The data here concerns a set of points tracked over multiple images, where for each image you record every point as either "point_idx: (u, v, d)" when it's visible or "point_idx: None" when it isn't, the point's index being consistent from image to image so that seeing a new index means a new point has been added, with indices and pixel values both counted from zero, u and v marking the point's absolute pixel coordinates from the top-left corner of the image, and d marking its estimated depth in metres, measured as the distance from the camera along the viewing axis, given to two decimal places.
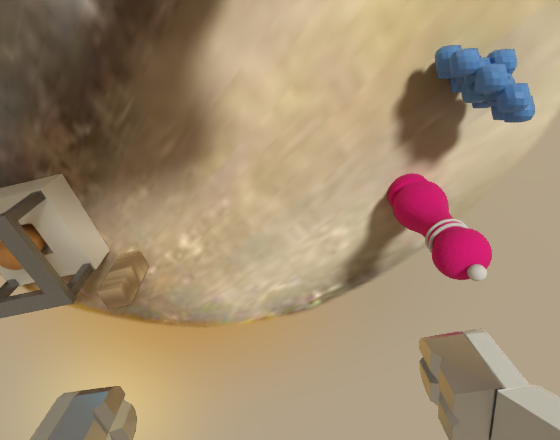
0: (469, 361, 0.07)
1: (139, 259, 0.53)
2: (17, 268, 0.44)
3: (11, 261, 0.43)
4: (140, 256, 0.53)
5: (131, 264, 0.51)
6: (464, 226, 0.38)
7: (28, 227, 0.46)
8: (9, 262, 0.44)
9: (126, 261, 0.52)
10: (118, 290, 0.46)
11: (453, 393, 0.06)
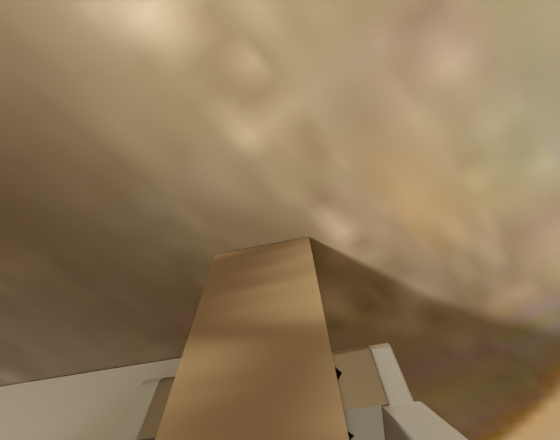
0: (366, 377, 0.07)
1: (233, 273, 0.10)
2: None
3: None
4: (232, 262, 0.11)
5: None
6: None
7: None
8: None
9: None
10: None
11: None
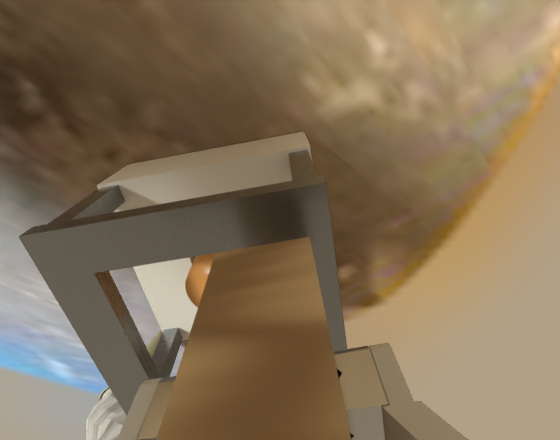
0: (366, 376, 0.07)
1: (233, 272, 0.10)
2: None
3: None
4: (232, 262, 0.11)
5: None
6: None
7: None
8: None
9: None
10: None
11: None
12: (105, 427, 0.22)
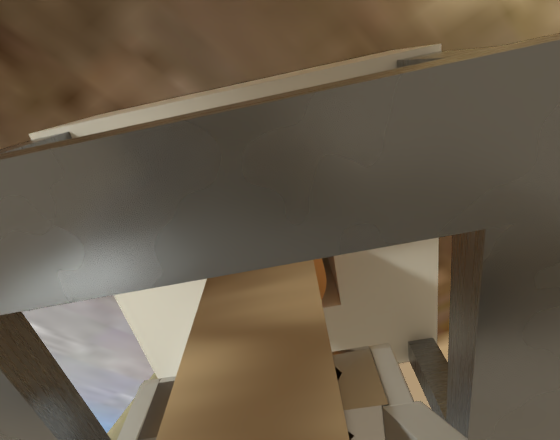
0: (366, 376, 0.07)
1: None
2: (319, 278, 0.12)
3: None
4: None
5: None
6: None
7: None
8: None
9: None
10: None
11: None
12: None
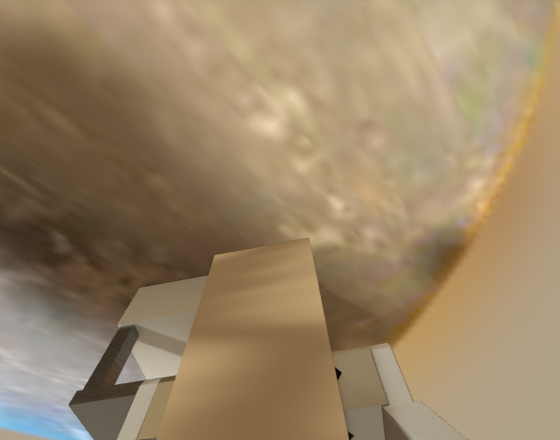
0: (365, 376, 0.07)
1: (233, 274, 0.10)
2: None
3: None
4: (232, 263, 0.11)
5: None
6: None
7: None
8: None
9: None
10: None
11: None
12: None
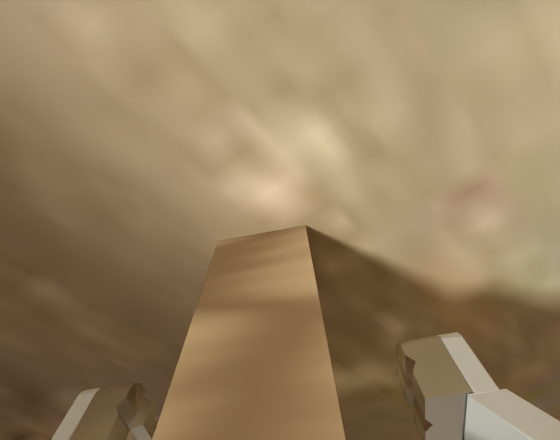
0: (442, 365, 0.07)
1: (235, 257, 0.11)
2: None
3: None
4: (234, 248, 0.12)
5: None
6: None
7: None
8: None
9: None
10: None
11: (425, 397, 0.07)
12: None
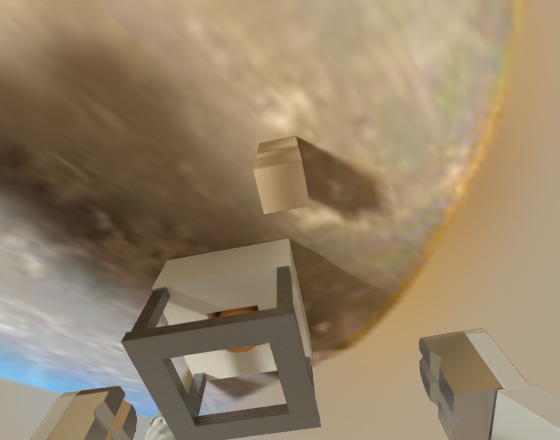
0: (469, 361, 0.07)
1: (268, 144, 0.30)
2: None
3: None
4: (267, 143, 0.30)
5: None
6: None
7: None
8: None
9: None
10: (260, 173, 0.23)
11: (453, 393, 0.06)
12: None
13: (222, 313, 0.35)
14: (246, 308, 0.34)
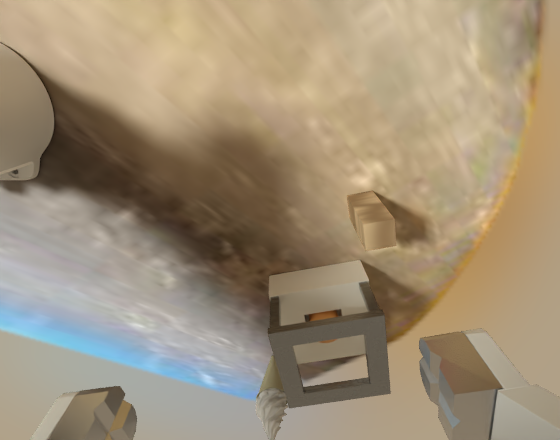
0: (469, 361, 0.07)
1: (355, 198, 0.43)
2: None
3: None
4: (353, 196, 0.43)
5: (353, 207, 0.41)
6: None
7: None
8: None
9: (352, 212, 0.42)
10: (367, 226, 0.36)
11: (453, 393, 0.06)
12: (270, 409, 0.47)
13: (313, 314, 0.48)
14: (331, 311, 0.48)
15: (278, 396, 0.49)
